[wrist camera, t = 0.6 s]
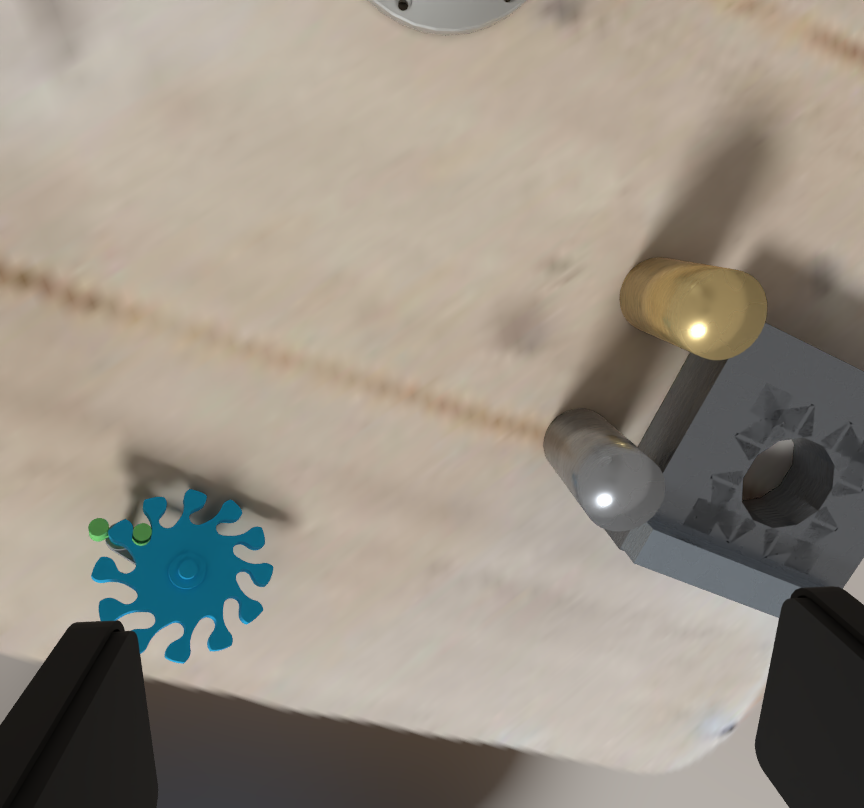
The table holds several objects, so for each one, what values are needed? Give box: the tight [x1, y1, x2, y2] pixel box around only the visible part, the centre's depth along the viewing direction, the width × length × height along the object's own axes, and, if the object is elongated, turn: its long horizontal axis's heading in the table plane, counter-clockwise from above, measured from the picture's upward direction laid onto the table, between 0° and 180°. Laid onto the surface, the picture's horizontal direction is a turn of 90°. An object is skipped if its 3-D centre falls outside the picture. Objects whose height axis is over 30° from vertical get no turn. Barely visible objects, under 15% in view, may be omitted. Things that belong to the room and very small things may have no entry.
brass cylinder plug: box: [620, 257, 767, 360], centre depth 37 cm, size 5×5×8 cm
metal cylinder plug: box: [543, 409, 665, 531], centre depth 39 cm, size 5×5×8 cm
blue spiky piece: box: [88, 489, 273, 664], centre depth 40 cm, size 11×6×10 cm
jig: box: [605, 323, 864, 618], centre depth 42 cm, size 16×16×6 cm
